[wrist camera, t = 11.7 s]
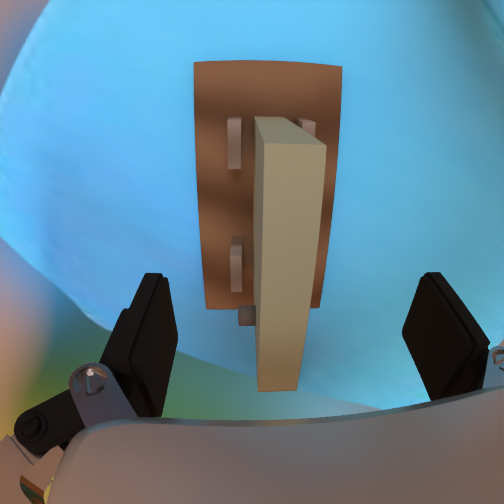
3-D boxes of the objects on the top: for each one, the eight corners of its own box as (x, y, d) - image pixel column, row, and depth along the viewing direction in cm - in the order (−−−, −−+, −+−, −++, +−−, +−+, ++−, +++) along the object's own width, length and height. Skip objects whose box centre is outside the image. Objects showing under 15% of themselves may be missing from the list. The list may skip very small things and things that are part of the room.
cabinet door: (239, 116, 20) (232, 143, 10) (283, 117, 20) (326, 145, 10) (240, 270, 26) (238, 392, 15) (277, 270, 26) (296, 390, 15)
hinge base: (196, 63, 19) (185, 57, 16) (337, 67, 19) (356, 63, 16) (207, 301, 29) (202, 332, 25) (316, 299, 29) (326, 330, 25)
